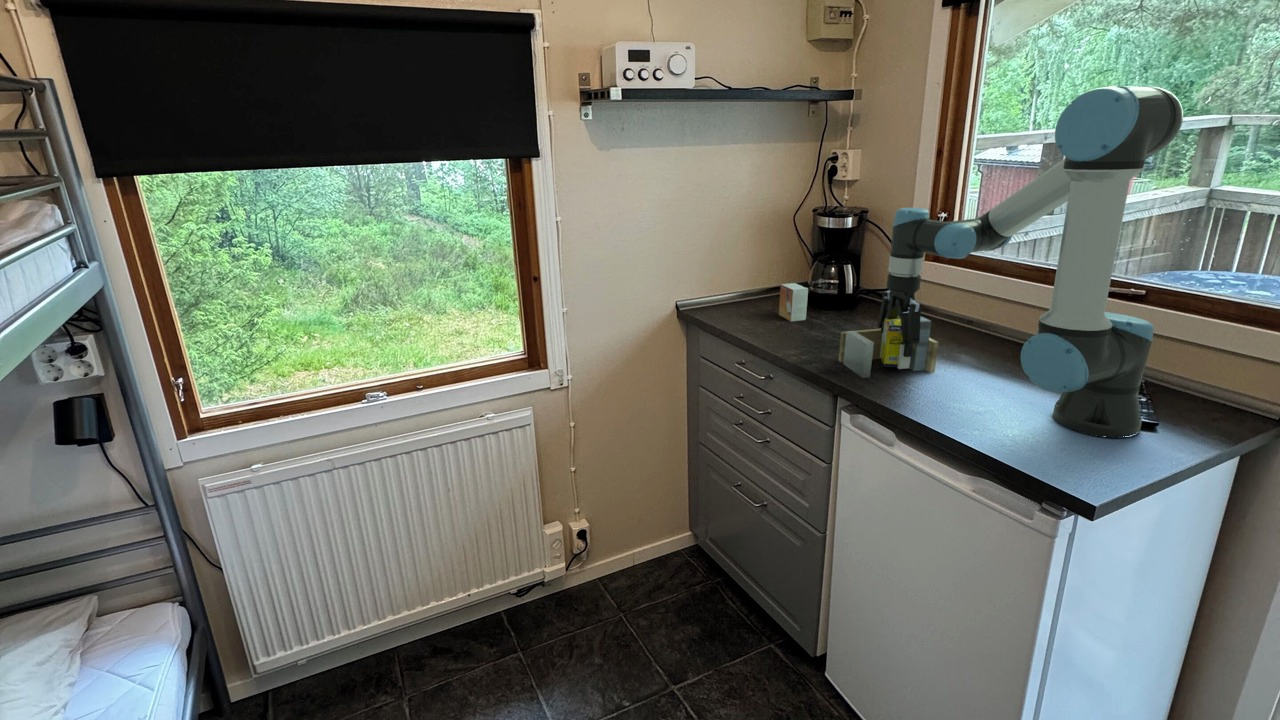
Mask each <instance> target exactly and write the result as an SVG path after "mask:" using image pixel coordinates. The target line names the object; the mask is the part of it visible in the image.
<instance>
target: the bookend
mask: <svg viewBox="0 0 1280 720" xmlns="http://www.w3.org/2000/svg"><path fill="white" fill-rule="evenodd" d="M855 331H856V330H848V331H847V330H846V331H845V332H846V341H845V352H844V362H842V363H843V365H844V366H845V367H847V368H848V369H850V370H851V371H853V372H854V373H855V374H857V375H858V376H859V377H861V378H862V379H863V378H864V379H865V378H871V372H872V371H871V370H872V363H873V359H872V355H873V346H874V342H872V341H870V340H869V339H867V338H865V337H863V336H862V335H860V334H858V333H857V332H855Z"/></svg>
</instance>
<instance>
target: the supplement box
mask: <svg viewBox="0 0 1280 720" xmlns="http://www.w3.org/2000/svg"><path fill="white" fill-rule="evenodd" d="M907 339H908V338H907ZM900 342H903V338H902V328H901V319H885V322H884V331H883V340H882V349H881V358H880V361H881V363H882V366H883V367H888V368H890V367H892V368H898V360H899V351H900Z"/></svg>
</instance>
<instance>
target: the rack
mask: <svg viewBox="0 0 1280 720" xmlns="http://www.w3.org/2000/svg"><path fill="white" fill-rule="evenodd" d="M903 313H909V311H908V312H903ZM897 319H900V317H899V316H897ZM931 325H932V320H930V319H929V318H926V317H924V316H922V315H921V316H920V342H919V343H917V344H913V346H912V354H911V357H910V365H909V368H908V369H909V370H911V371H913V372H921V371H926V372H928V373H930V374H933V373H935V371H936V364H937V357H938V352H939V351H938V350H939V341H938V340H935V339H934V338H931V337H930V335H931V327H932V326H931ZM854 331H855V332H857V333H858V334H860V335H862V336H863V337H865V338H867V339H869V340H870V341H872V342H874V346H873V355H872V360H879V359H880V351H881V339H882V332H881V328H873V329H872V328H871V329H862V330H860V329H859V330H854ZM845 341H846V331H841V332H840V341H839V351H838V362H840V363H844V352H845ZM880 360H881V359H880Z"/></svg>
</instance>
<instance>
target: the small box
mask: <svg viewBox="0 0 1280 720" xmlns="http://www.w3.org/2000/svg"><path fill="white" fill-rule="evenodd" d="M808 294H809V288H808V287H805V286H803V285H801V284H798V283H795V282H793V283H790V282H789V283H781V284H780V291H779V303H778V304H779V305H778V306H779V307H778V315H779V316H780V317H782V318H784V319H785V320H787V321H789V322H791V323H792V322H799V321H806V319H807V307H808V296H809V295H808Z"/></svg>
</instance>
